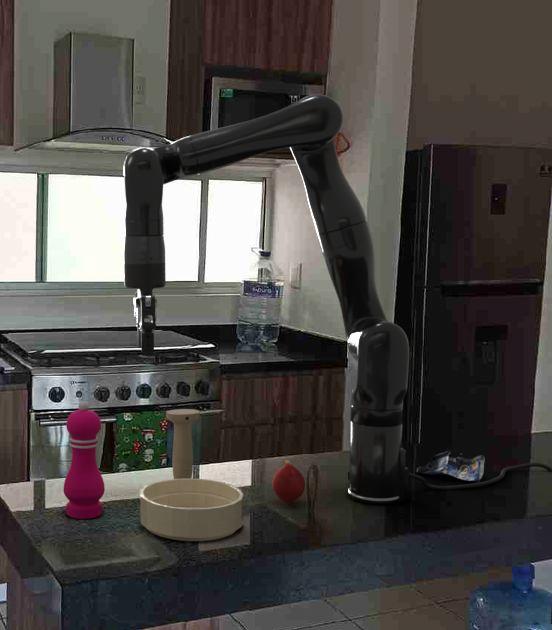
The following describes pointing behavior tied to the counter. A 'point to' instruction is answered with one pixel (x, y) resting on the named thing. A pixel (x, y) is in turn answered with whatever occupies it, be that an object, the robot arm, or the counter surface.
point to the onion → (288, 483)
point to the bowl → (191, 509)
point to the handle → (182, 441)
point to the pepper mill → (83, 465)
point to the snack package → (455, 467)
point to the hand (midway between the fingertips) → (145, 350)
